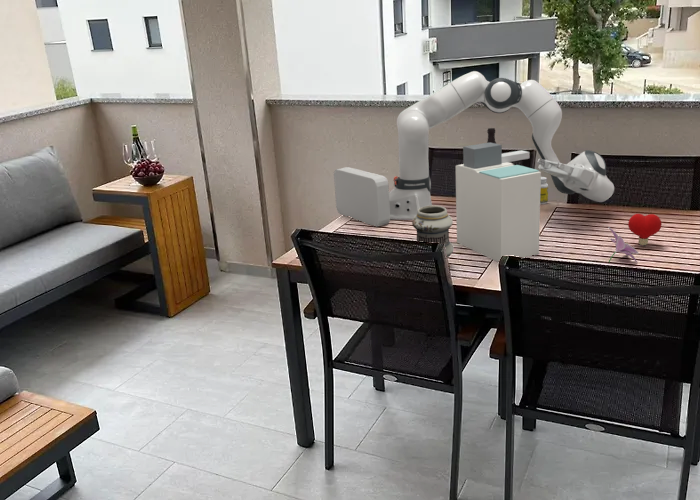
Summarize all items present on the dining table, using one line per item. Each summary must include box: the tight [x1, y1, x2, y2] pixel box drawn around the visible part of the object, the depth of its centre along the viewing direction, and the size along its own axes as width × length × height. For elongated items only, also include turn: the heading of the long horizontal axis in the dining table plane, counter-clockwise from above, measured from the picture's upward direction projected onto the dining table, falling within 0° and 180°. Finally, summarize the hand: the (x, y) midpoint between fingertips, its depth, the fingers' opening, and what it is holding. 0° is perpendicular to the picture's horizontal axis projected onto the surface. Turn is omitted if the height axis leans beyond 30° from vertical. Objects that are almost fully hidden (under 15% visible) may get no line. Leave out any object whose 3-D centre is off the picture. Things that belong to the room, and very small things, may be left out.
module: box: [462, 142, 531, 169], centre depth 208 cm, size 22×6×6 cm, turn 114°
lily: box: [607, 226, 640, 263], centre depth 191 cm, size 12×12×10 cm
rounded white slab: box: [333, 166, 391, 228], centre depth 249 cm, size 29×8×18 cm, turn 33°
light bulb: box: [627, 213, 662, 247], centre depth 202 cm, size 9×7×10 cm
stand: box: [455, 162, 542, 263], centre depth 206 cm, size 14×24×26 cm, turn 24°
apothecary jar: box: [411, 204, 455, 268], centre depth 196 cm, size 12×12×18 cm
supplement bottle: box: [540, 176, 549, 205], centre depth 254 cm, size 5×5×10 cm
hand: (548, 162), depth 217 cm, fingers open, 8 cm apart
